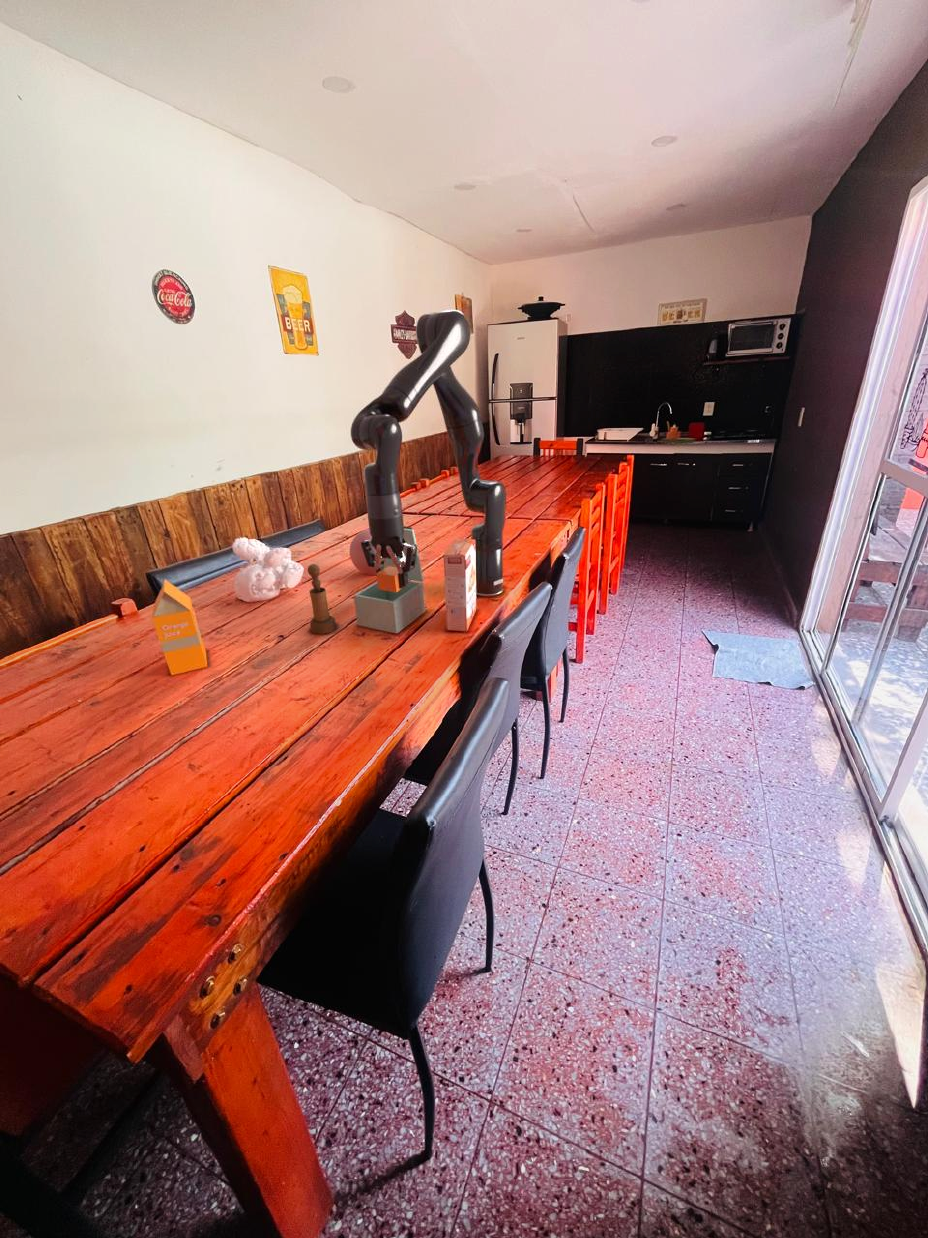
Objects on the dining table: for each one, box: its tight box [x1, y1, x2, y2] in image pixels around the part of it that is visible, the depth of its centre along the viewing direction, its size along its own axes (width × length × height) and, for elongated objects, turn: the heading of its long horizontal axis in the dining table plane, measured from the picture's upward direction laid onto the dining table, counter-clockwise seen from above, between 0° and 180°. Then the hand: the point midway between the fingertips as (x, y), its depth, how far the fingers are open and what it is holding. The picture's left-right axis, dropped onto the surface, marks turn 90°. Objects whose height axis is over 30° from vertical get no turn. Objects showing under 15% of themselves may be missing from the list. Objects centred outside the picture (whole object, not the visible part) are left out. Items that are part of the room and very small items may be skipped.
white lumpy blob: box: [231, 536, 305, 603], centre depth 154 cm, size 19×20×20 cm
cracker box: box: [443, 538, 477, 633], centre depth 129 cm, size 14×6×21 cm, turn 168°
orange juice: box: [151, 578, 208, 676], centre depth 113 cm, size 8×9×20 cm
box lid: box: [384, 525, 425, 583], centre depth 135 cm, size 16×13×5 cm
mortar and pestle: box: [307, 563, 337, 635], centre depth 128 cm, size 7×6×18 cm
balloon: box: [349, 528, 377, 576], centre depth 167 cm, size 15×20×15 cm
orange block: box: [376, 566, 408, 592], centre depth 114 cm, size 5×5×4 cm
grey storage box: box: [353, 580, 426, 635], centre depth 134 cm, size 15×13×9 cm
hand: (393, 585), depth 115 cm, fingers closed on orange block, 5 cm apart
